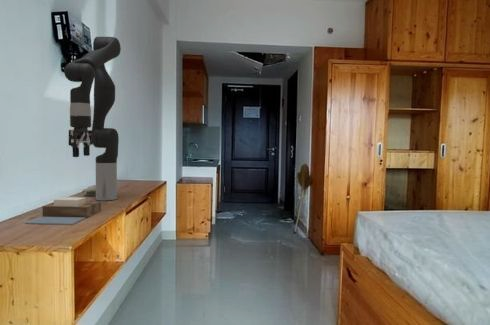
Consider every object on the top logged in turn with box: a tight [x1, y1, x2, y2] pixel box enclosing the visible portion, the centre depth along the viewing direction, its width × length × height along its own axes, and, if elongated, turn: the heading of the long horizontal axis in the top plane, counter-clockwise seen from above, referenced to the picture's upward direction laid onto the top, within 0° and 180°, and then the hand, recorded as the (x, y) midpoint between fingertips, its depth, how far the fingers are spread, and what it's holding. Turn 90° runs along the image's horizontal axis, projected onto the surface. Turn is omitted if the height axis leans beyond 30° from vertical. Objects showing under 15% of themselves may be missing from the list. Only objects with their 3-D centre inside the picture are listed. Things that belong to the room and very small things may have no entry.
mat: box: [24, 216, 87, 226], centre depth 120 cm, size 10×16×1 cm, turn 89°
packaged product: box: [81, 184, 96, 197], centre depth 176 cm, size 18×5×10 cm
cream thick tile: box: [53, 196, 87, 207], centre depth 129 cm, size 6×9×2 cm, turn 89°
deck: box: [42, 200, 102, 219], centre depth 131 cm, size 12×16×4 cm
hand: (81, 156), depth 137 cm, fingers open, 8 cm apart
